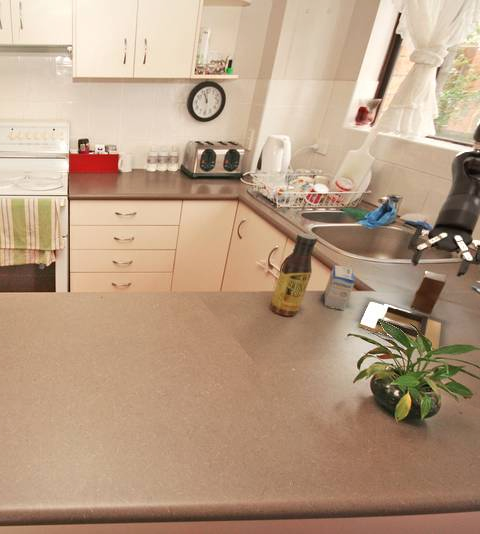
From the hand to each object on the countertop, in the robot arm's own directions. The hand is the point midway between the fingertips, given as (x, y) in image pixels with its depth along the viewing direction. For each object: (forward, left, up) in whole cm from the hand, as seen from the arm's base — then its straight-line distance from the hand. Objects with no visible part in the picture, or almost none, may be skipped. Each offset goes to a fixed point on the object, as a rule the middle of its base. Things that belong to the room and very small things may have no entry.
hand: (436, 269), depth 97 cm
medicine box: (+17, +17, -10) cm, 26 cm away
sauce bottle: (+25, +31, -10) cm, 41 cm away
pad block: (0, +4, -10) cm, 10 cm away
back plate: (+3, +19, -10) cm, 21 cm away
